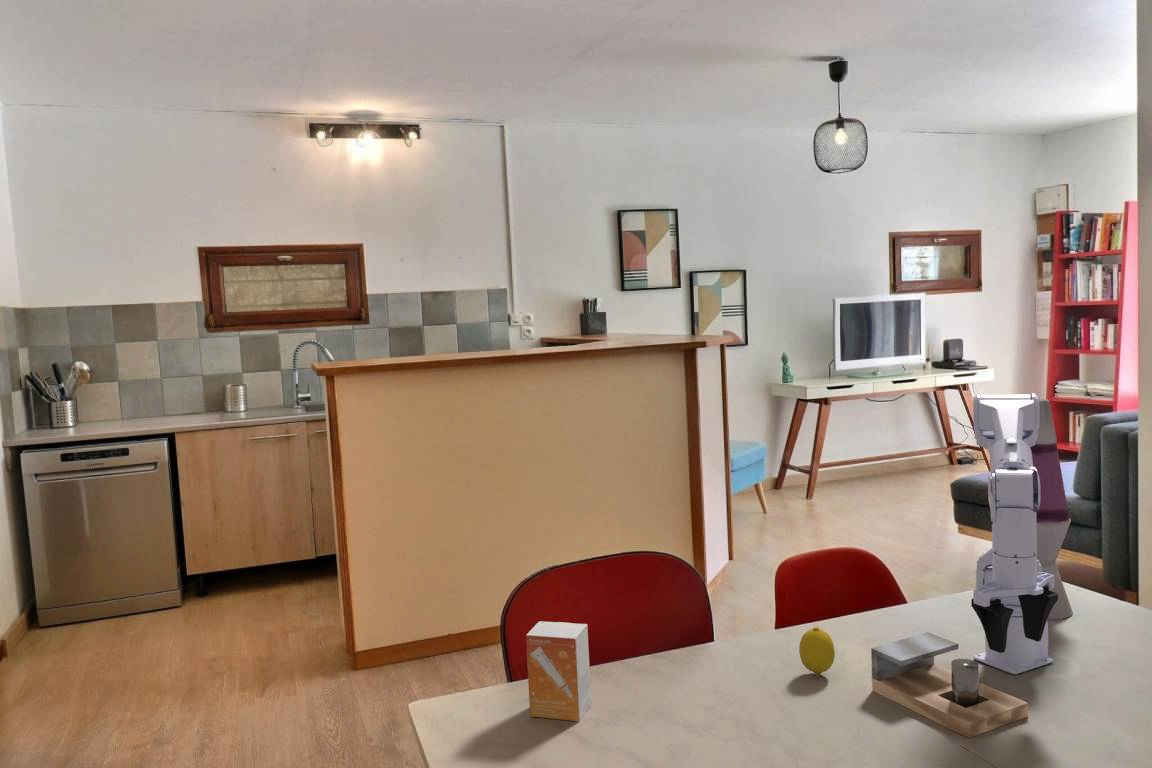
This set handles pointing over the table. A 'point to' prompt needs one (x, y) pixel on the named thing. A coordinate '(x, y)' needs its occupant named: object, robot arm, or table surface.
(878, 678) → the socket board
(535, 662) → the small box
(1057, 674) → the table surface
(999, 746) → the table surface
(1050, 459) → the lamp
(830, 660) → the lemon
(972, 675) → the peg
